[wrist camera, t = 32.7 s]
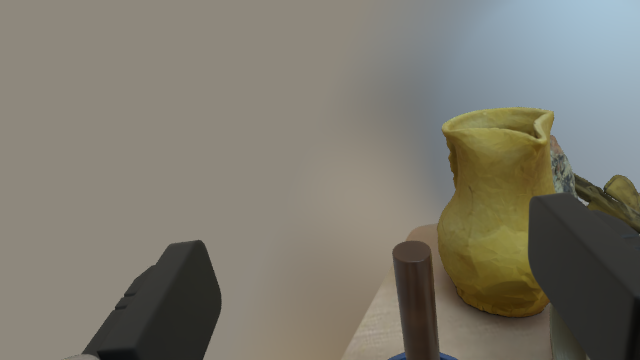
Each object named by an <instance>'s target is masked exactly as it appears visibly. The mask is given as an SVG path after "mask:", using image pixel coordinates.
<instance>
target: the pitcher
mask: <svg viewBox="0 0 640 360" xmlns="http://www.w3.org/2000/svg"><path fill="white" fill-rule="evenodd" d="M553 121H554V113H553V111H548V110H542V109H536V108H525V107H512V108H495V109H485V110H477V111H474V112H470V113H465V114H462V115H459V116H457V117H455V118H452V119H450V120H449V121H448V122H446V123H444V124H443V127H442V132H443V134H444V136H445V137H446V140H447V146H448V148H449V149H450V155H449V157H448V159H449V161H450V167H451V171H452V172H453V173H454V178H453V180H454V185H455V188H456V191H455V194H454V196H453V197H452V199H451V201H450V202H449V203H448V205H447V206H446V207H445V209H444V210H443V212H442V215H441V217H440V219H439V223H438V227H437V231H438V249H439V254H440V257H441V260H442V263H443V266H444V269H445V270H446V272H447V273H448V275H449V276H450V278H451V279H452V281H453V282H454V284H455V285H456V288H457V293H458V295H459V296H461V298H463V300H464V302H466V303H467V304H469V305H472V306H474V307H475V308H479V310H481V311H482V310H485V311H488V312H489V313H491V314H492V313H493V314H494V313H495V314H500V315H501V316H504V315H505V316H507V317H527V316H532V315H534V314H538V313H540V312H542V311H543V310H544V307H546V305H547V304H548V303H549V302H550V300H549V299H548V298H547V296H546V295H545V293H544V292H543V290H542V289H541V287H540V286H539V284H538V283H537V281H536V280H535V278H534V276H533V274H532V272H531V269H530V265H529V260H528V223H529V203H530V200H531V198H532V197H533V196H540V195H548V194H555V193H556V192H555V188H554V184H553V176H552V169H551V157H550V130H551V127H552V124H553Z"/></svg>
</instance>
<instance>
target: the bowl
mask: <svg viewBox="0 0 640 360" xmlns="http://www.w3.org/2000/svg"><path fill="white" fill-rule="evenodd" d="M388 360H406V356H405V352H404V353H401V354H399V355H396V356H394V357H391V358H389V359H388ZM440 360H458V359H456V358H454V357H452V356H449V355H446V354H443V353H441V352H440Z"/></svg>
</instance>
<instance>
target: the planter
mask: <svg viewBox="0 0 640 360" xmlns="http://www.w3.org/2000/svg"><path fill="white" fill-rule="evenodd" d="M550 337H551V347H552V354H553V360H590V359H589V357H588V356H587V354H586V353H585V351H584V350H583V348H582V347H581V346H580V344H579V343H578V341H577V340H576V338H575V337H574V335H573V334H572V332H571V331H570V330H569V328H568V327H567V325H566V324H565V322H564V321H563V319H562V318H561V316H560V315H559V314H558V312H557V311H556V309H555V308H554V306H553V305H552V303H551V304H550Z"/></svg>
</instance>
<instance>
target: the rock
mask: <svg viewBox="0 0 640 360" xmlns="http://www.w3.org/2000/svg"><path fill="white" fill-rule="evenodd" d="M550 157H551V169H552V176H553V184H554V188H555V192H556V193H563V192H569V193H571V194H572V195H573V196H575V197H576V198H577V199H578V195H577V193H576V191H575V188H574V186H575V178H574V175H573V172H572V169H571V166H570V164H569V161H568V159H567V157H566V155H565V154H564V152H563V151H562V149H561V147H560V146H559V145H558V143H557V140H556V138H555V137H554V136H553V135H550Z"/></svg>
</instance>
